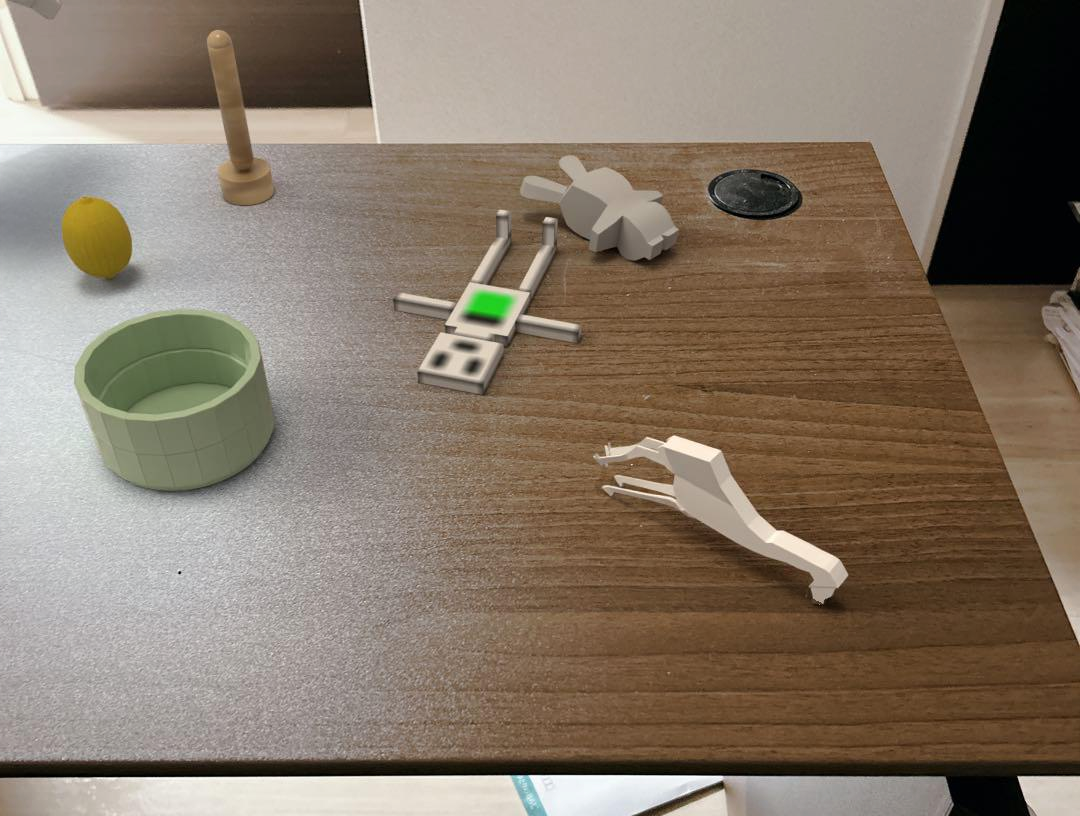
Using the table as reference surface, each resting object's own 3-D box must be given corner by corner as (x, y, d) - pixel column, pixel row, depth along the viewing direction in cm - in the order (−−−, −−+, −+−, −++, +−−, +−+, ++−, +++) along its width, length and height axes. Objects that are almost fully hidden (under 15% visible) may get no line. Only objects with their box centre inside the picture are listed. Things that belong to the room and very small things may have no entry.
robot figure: (444, 231, 107) (354, 370, 92) (442, 200, 104) (350, 336, 90) (614, 260, 104) (549, 407, 89) (616, 228, 101) (550, 374, 87)
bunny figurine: (635, 243, 98) (511, 165, 104) (626, 290, 102) (507, 213, 108) (701, 202, 103) (579, 130, 109) (690, 249, 107) (573, 177, 113)
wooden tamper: (216, 204, 110) (181, 41, 98) (230, 178, 113) (197, 18, 102) (267, 206, 110) (237, 43, 98) (279, 180, 113) (252, 20, 102)
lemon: (67, 276, 101) (39, 194, 95) (124, 254, 103) (101, 174, 98) (94, 303, 98) (67, 221, 92) (152, 281, 101) (130, 199, 95)
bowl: (75, 488, 82) (46, 414, 77) (132, 377, 91) (109, 304, 86) (251, 498, 82) (233, 425, 77) (291, 386, 91) (278, 313, 85)
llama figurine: (625, 566, 86) (841, 612, 74) (585, 438, 80) (811, 466, 68) (639, 552, 87) (854, 595, 75) (600, 425, 81) (825, 450, 69)
